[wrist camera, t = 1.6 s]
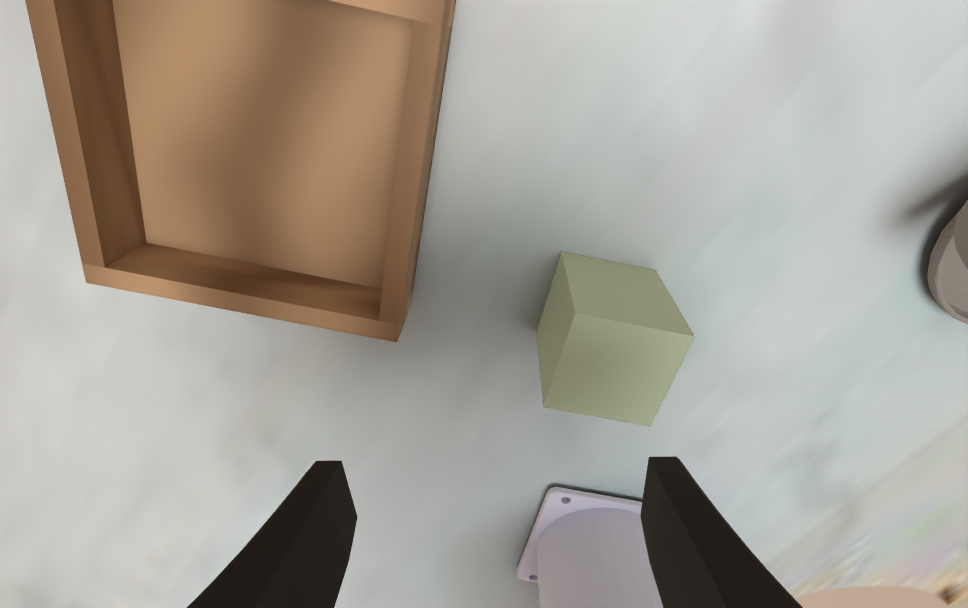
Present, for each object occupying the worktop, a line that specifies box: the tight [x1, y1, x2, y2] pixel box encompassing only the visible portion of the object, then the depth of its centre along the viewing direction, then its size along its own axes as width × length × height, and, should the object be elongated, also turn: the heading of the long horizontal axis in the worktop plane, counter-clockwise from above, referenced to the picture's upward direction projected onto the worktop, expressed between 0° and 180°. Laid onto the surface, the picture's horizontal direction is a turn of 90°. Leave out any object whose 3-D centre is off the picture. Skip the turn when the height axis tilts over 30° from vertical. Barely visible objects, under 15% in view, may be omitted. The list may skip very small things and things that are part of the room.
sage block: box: [537, 251, 695, 427], centre depth 19 cm, size 4×4×5 cm
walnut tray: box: [25, 0, 456, 342], centre depth 17 cm, size 12×12×3 cm
